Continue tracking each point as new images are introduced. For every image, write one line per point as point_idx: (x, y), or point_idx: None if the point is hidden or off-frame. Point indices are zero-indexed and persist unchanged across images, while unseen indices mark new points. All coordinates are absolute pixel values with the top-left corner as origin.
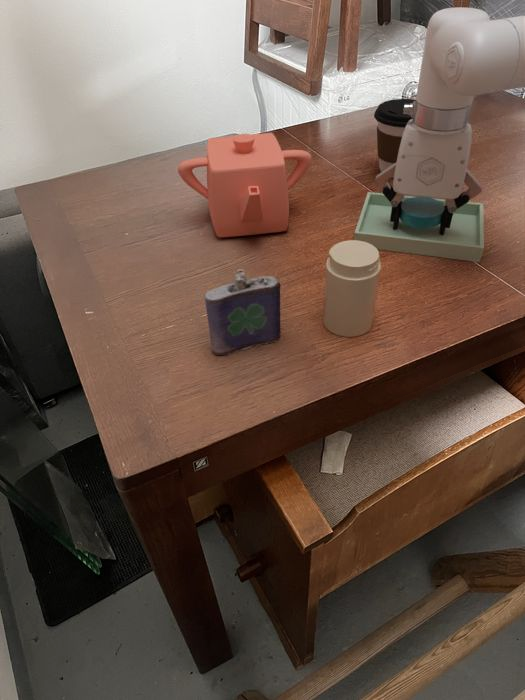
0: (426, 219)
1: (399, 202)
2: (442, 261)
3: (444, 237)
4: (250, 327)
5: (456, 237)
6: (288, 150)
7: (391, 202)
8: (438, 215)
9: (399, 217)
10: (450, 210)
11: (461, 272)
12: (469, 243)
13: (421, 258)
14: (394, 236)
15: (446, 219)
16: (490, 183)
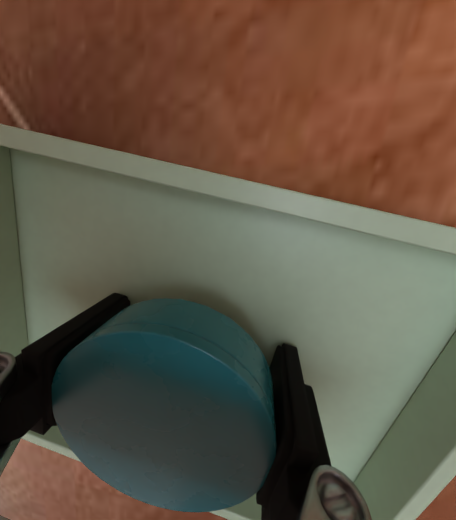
0: (145, 323)
1: (306, 502)
2: (131, 129)
3: (115, 281)
4: None
5: (78, 278)
6: None
7: (365, 515)
8: (77, 345)
9: None
10: (4, 369)
11: (64, 41)
12: (38, 239)
13: (209, 148)
14: (350, 214)
15: (61, 329)
16: (24, 495)
